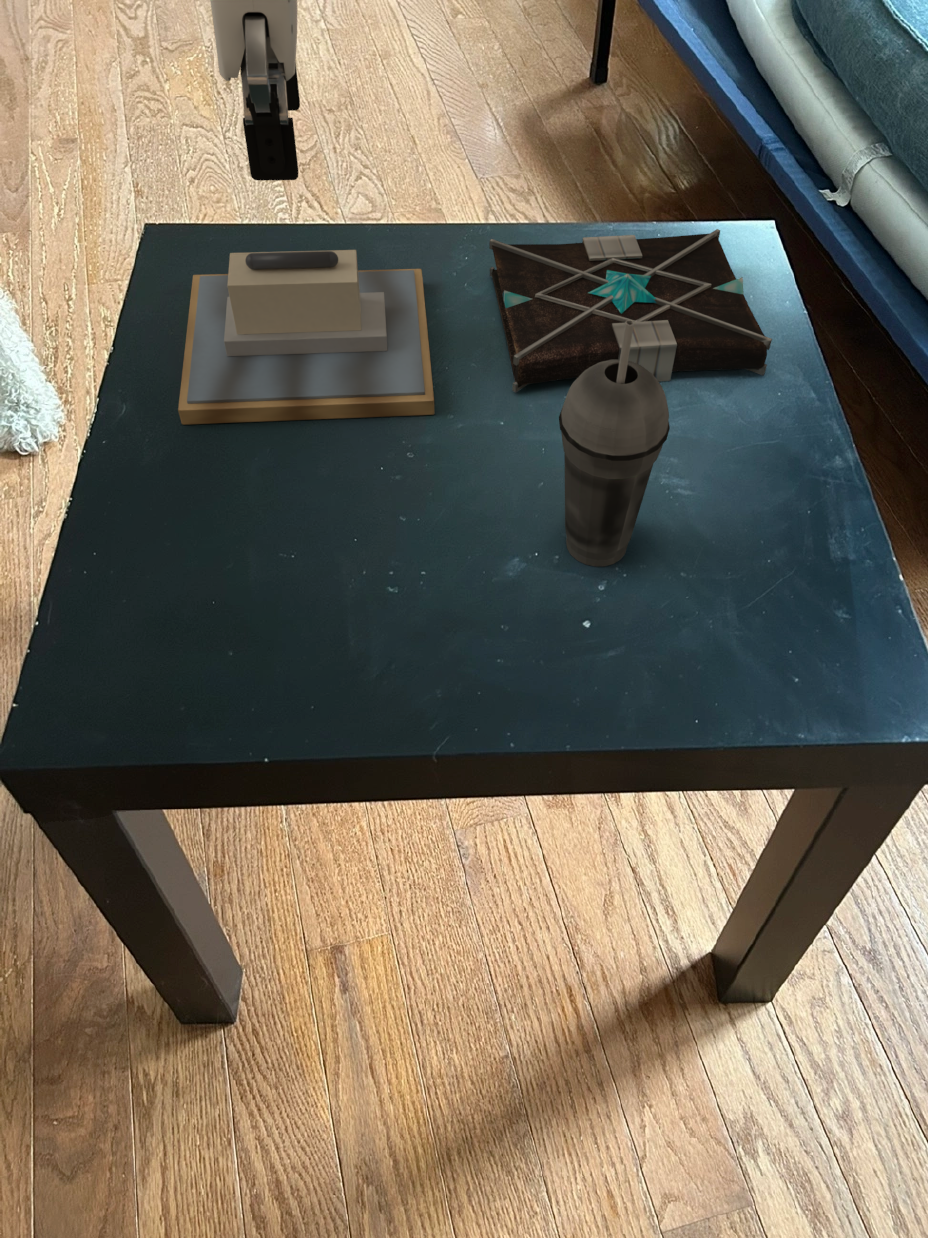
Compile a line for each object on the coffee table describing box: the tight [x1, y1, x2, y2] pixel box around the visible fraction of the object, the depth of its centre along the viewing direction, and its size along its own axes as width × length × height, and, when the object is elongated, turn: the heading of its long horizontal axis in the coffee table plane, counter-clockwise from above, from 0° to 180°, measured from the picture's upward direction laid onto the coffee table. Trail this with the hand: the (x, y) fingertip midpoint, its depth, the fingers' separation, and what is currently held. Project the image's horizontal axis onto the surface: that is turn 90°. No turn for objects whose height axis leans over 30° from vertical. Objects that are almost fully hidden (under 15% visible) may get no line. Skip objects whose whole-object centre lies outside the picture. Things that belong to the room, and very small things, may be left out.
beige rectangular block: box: [224, 249, 388, 356], centre depth 89 cm, size 13×6×7 cm, turn 96°
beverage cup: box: [558, 320, 671, 568], centre depth 73 cm, size 7×7×20 cm
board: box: [177, 268, 436, 426], centre depth 93 cm, size 20×18×2 cm
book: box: [488, 228, 773, 394], centre depth 95 cm, size 22×17×5 cm
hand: (276, 142), depth 79 cm, fingers open, 9 cm apart
